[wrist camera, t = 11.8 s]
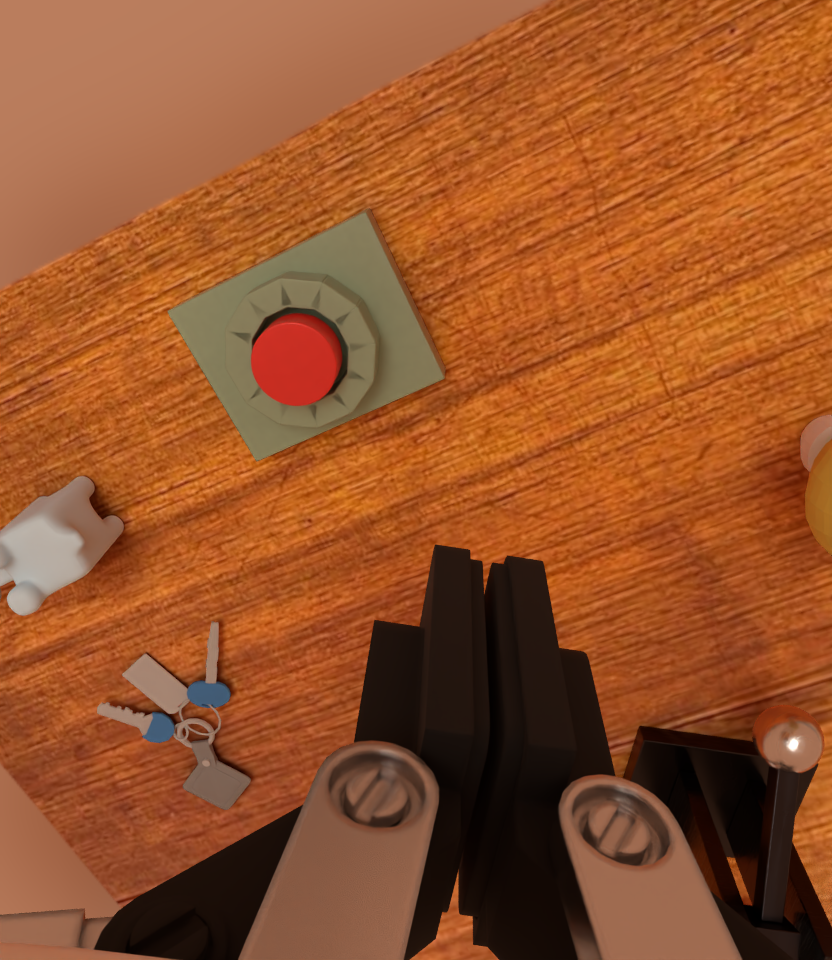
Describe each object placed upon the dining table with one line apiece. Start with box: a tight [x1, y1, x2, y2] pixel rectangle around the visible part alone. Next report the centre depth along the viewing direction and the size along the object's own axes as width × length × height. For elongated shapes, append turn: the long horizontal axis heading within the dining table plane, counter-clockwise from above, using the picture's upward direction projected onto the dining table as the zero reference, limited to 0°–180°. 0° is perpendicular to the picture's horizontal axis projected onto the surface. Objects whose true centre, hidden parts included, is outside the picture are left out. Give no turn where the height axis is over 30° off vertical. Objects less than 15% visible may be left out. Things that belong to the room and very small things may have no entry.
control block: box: [168, 208, 445, 461], centre depth 36 cm, size 10×8×4 cm
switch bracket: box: [623, 726, 832, 960], centre depth 42 cm, size 8×10×12 cm
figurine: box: [0, 476, 124, 615], centre depth 39 cm, size 4×8×6 cm, turn 118°
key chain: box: [97, 621, 251, 810], centre depth 47 cm, size 14×8×1 cm, turn 3°
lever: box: [744, 705, 824, 960], centre depth 39 cm, size 13×3×3 cm, turn 173°
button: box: [251, 313, 342, 406], centre depth 34 cm, size 4×4×2 cm
